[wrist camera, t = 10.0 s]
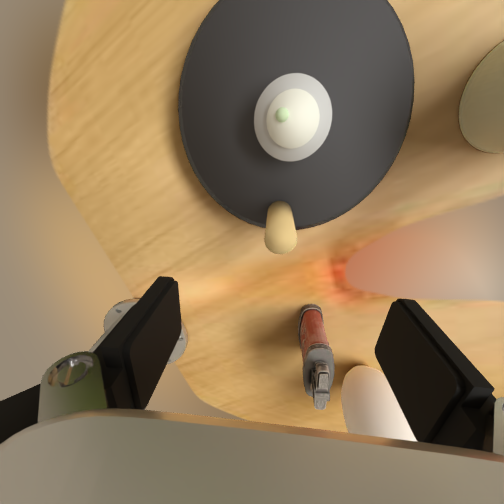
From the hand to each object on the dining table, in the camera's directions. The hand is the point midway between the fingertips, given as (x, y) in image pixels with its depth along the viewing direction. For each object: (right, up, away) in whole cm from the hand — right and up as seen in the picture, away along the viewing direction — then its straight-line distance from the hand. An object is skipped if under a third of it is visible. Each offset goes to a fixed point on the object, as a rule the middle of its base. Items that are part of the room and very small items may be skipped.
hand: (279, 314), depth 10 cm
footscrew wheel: (+2, +14, +11) cm, 18 cm away
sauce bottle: (+15, -15, +26) cm, 33 cm away
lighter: (+7, -8, +23) cm, 25 cm away
